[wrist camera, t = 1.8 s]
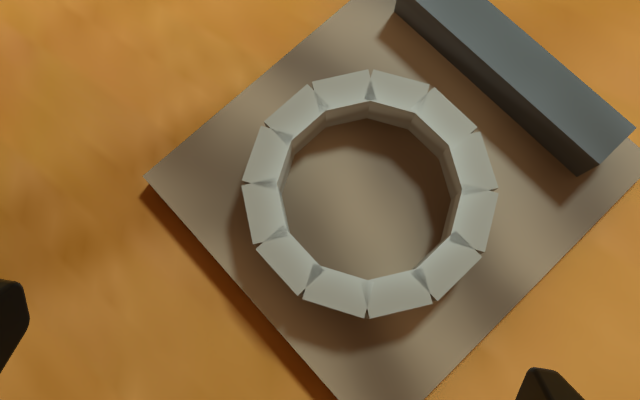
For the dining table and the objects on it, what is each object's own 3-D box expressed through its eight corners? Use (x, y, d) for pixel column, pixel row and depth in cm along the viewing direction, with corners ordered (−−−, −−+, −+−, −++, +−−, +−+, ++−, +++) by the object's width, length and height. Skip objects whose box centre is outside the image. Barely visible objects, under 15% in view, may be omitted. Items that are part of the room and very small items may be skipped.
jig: (376, 439, 21) (383, 460, 18) (150, 181, 24) (125, 163, 21) (642, 168, 24) (686, 147, 21) (407, -38, 26) (416, -81, 24)
